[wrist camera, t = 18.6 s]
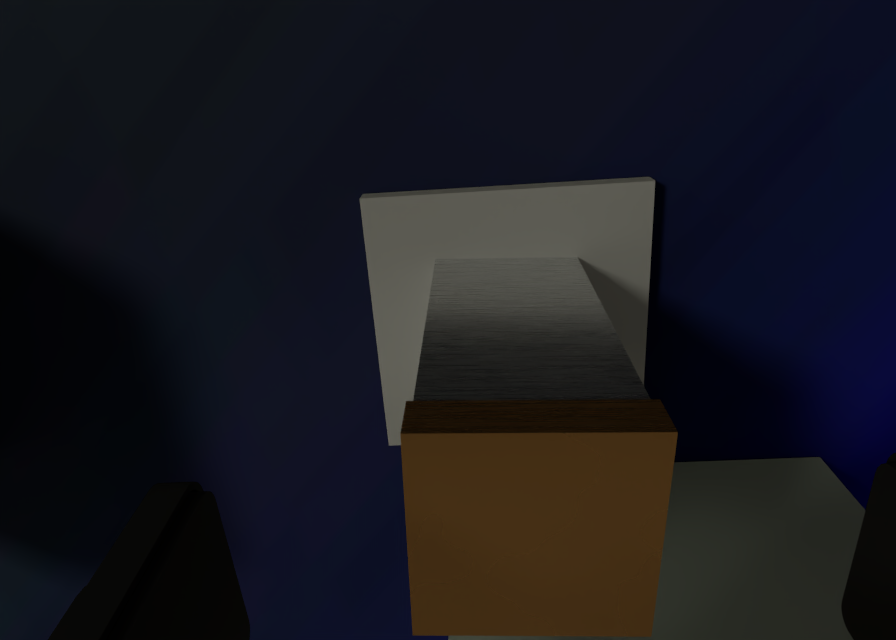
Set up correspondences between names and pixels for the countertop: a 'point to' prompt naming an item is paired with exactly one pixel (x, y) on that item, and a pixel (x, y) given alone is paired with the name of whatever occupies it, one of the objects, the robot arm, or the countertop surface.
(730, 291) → the countertop surface
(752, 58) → the countertop surface
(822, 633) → the grey hollow block
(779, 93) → the countertop surface
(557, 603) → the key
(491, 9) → the countertop surface
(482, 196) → the mat
